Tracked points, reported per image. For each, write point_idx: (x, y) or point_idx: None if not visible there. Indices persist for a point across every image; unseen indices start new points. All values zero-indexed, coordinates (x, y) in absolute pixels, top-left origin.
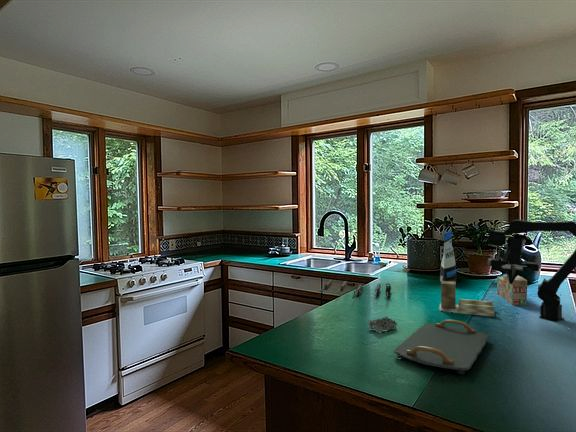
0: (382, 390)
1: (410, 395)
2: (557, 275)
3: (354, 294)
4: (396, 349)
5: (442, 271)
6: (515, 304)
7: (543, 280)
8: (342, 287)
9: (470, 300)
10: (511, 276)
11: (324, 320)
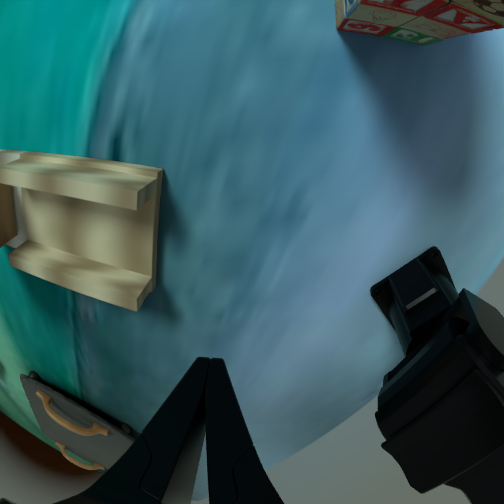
0: (71, 455)
1: (90, 465)
2: None
3: None
4: (44, 433)
5: None
6: (358, 29)
7: (467, 460)
8: None
9: (33, 189)
10: (191, 481)
11: None
